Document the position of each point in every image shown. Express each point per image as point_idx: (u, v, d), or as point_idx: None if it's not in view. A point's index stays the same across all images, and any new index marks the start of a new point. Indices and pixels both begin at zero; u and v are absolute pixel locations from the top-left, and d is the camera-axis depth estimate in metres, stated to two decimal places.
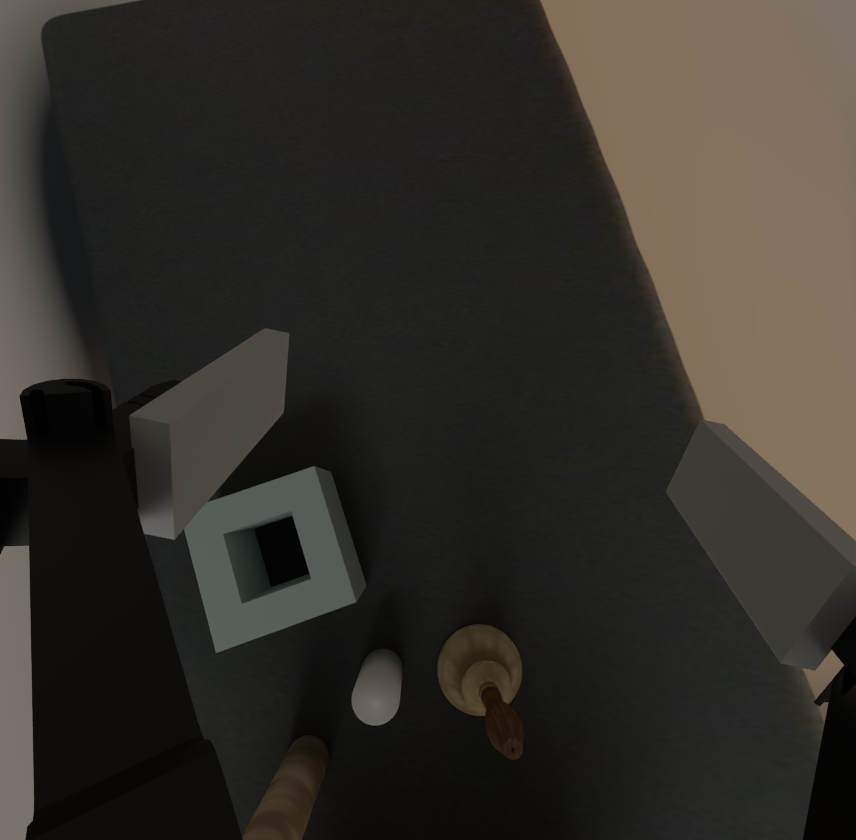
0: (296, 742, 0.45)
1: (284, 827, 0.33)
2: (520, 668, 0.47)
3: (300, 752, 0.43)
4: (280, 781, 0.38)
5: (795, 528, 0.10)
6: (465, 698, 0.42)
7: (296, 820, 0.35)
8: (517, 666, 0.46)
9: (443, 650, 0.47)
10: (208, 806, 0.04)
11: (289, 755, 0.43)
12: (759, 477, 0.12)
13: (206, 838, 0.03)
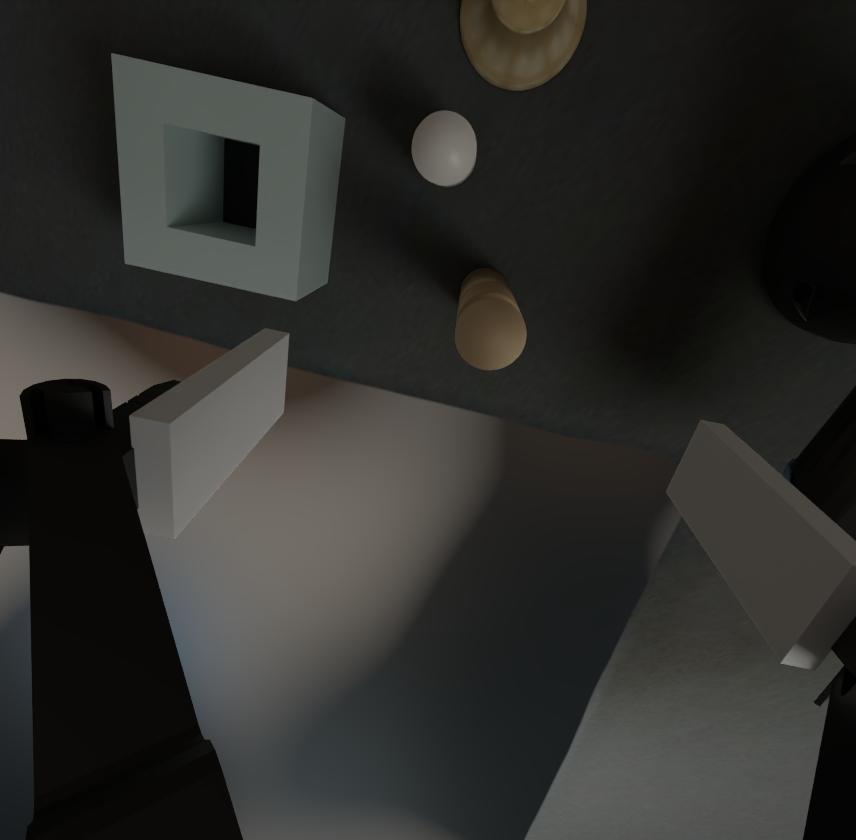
0: None
1: (477, 298, 0.28)
2: None
3: (463, 285, 0.37)
4: (459, 304, 0.33)
5: (795, 528, 0.10)
6: (521, 28, 0.28)
7: (488, 291, 0.29)
8: None
9: (470, 55, 0.33)
10: (210, 805, 0.04)
11: None
12: (759, 477, 0.12)
13: (207, 837, 0.03)
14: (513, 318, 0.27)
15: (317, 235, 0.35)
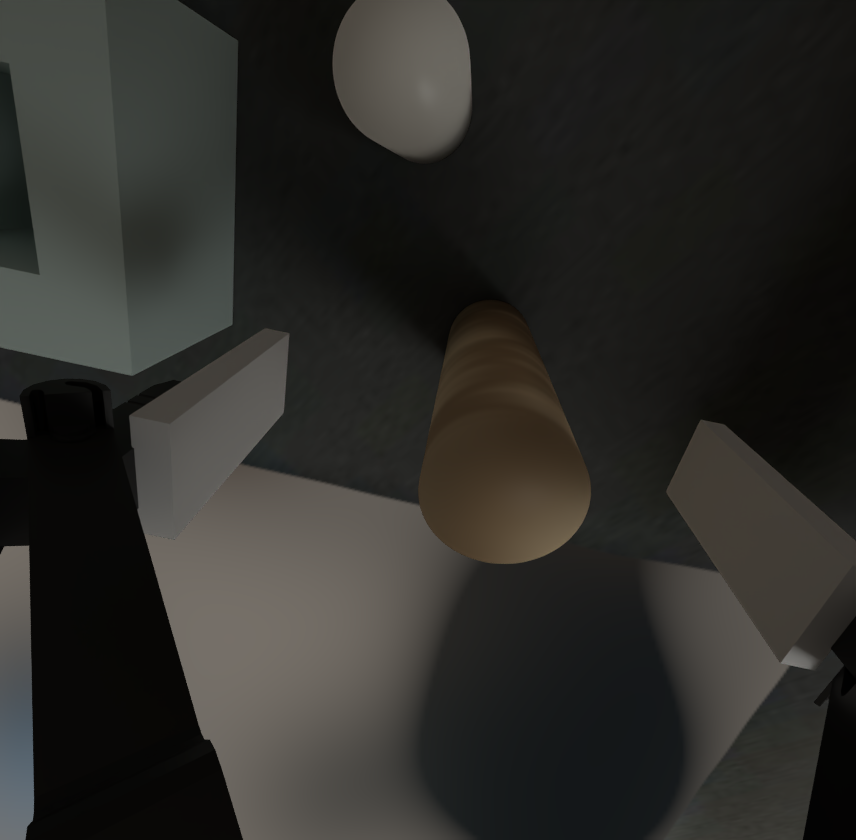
0: None
1: (471, 402, 0.12)
2: None
3: (452, 335, 0.21)
4: (439, 381, 0.17)
5: (795, 528, 0.10)
6: None
7: (496, 375, 0.13)
8: None
9: None
10: (208, 806, 0.04)
11: None
12: (759, 477, 0.12)
13: (207, 838, 0.03)
14: (560, 460, 0.11)
15: (184, 250, 0.19)
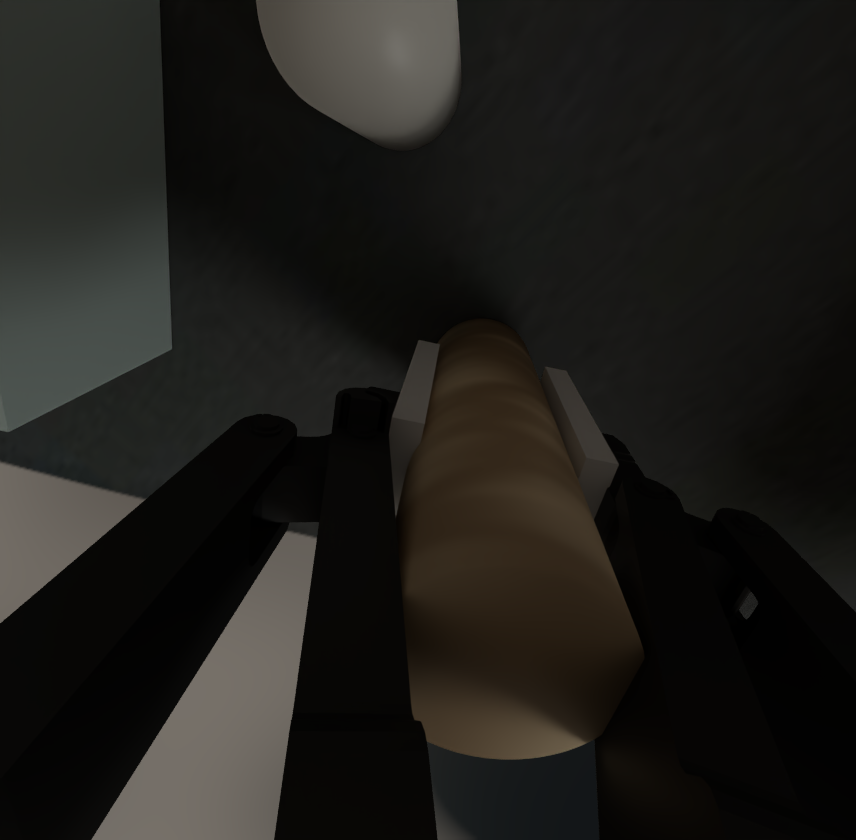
0: None
1: (451, 514, 0.07)
2: None
3: None
4: None
5: (569, 439, 0.12)
6: None
7: (489, 457, 0.09)
8: None
9: None
10: (413, 777, 0.04)
11: None
12: (561, 404, 0.14)
13: (408, 804, 0.04)
14: (597, 628, 0.07)
15: (88, 261, 0.15)
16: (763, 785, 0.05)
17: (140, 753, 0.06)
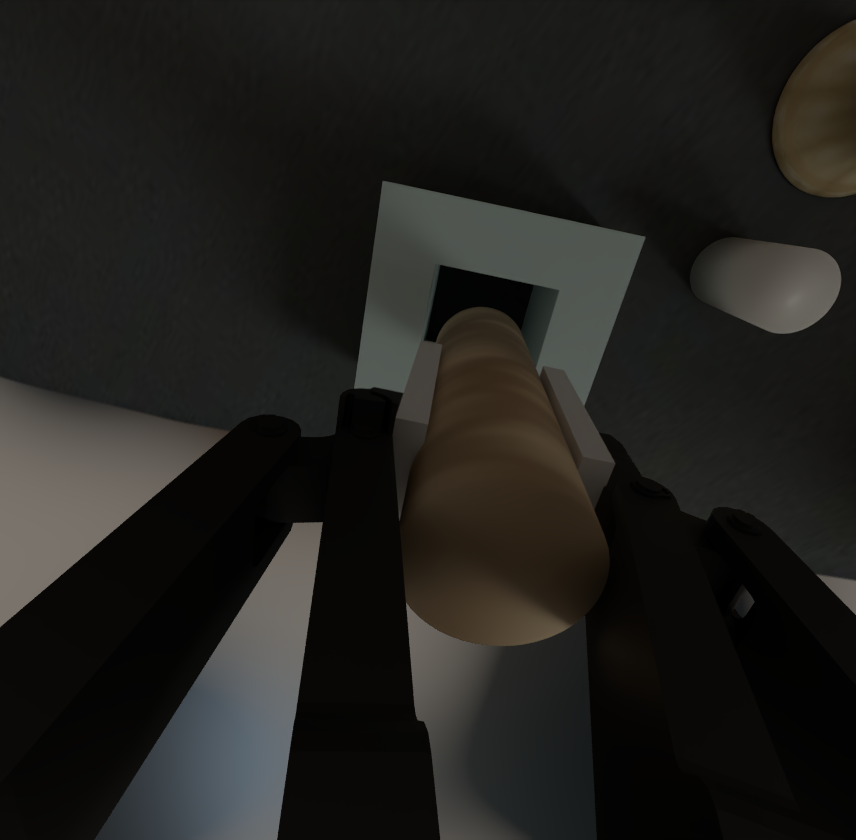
0: None
1: (460, 448, 0.09)
2: None
3: None
4: None
5: (566, 438, 0.12)
6: None
7: (490, 410, 0.11)
8: None
9: (783, 157, 0.26)
10: (417, 778, 0.04)
11: None
12: (558, 404, 0.14)
13: (411, 804, 0.04)
14: (572, 528, 0.09)
15: None
16: (762, 784, 0.05)
17: (144, 753, 0.06)
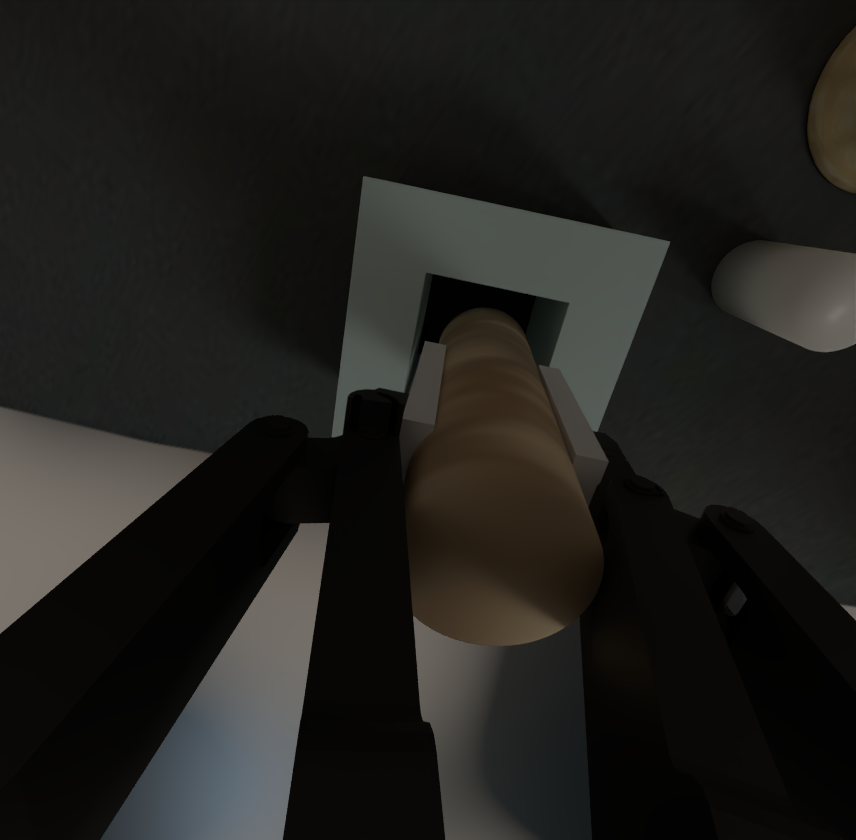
0: None
1: (456, 447, 0.09)
2: None
3: None
4: None
5: None
6: None
7: (487, 409, 0.11)
8: None
9: (819, 149, 0.23)
10: (421, 779, 0.04)
11: None
12: (553, 402, 0.14)
13: (416, 805, 0.04)
14: (566, 529, 0.09)
15: None
16: (755, 783, 0.05)
17: (150, 752, 0.06)
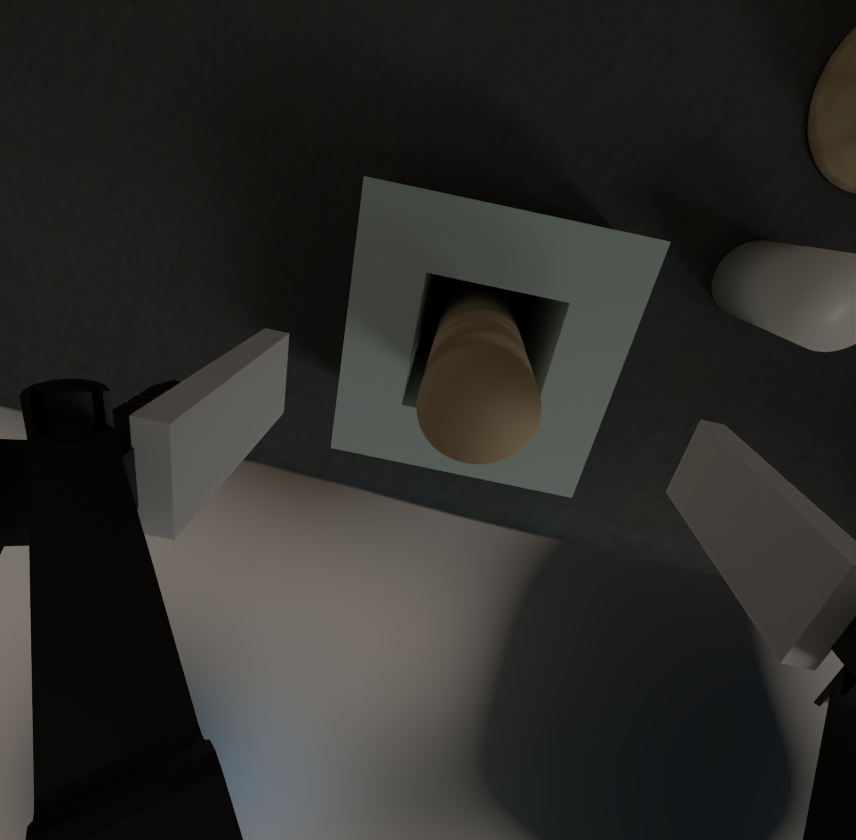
0: None
1: (456, 342, 0.16)
2: None
3: (445, 308, 0.25)
4: None
5: (795, 528, 0.10)
6: None
7: (476, 327, 0.17)
8: None
9: (820, 150, 0.23)
10: (208, 807, 0.04)
11: None
12: (759, 477, 0.12)
13: (206, 838, 0.03)
14: (519, 382, 0.15)
15: None
16: None
17: None
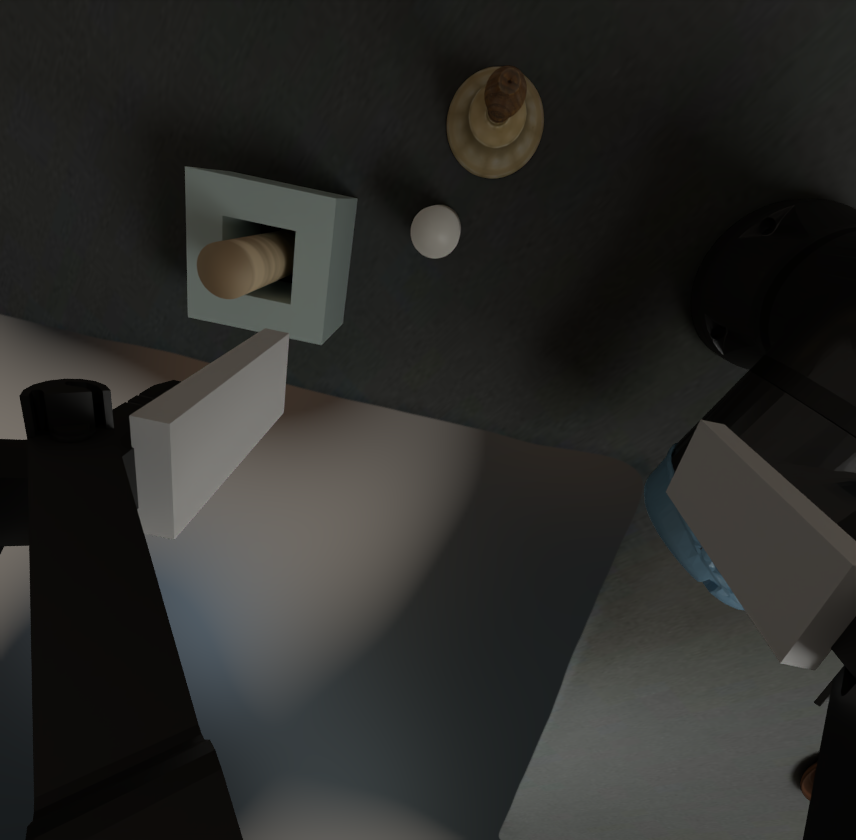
0: None
1: None
2: None
3: None
4: None
5: (795, 528, 0.10)
6: (492, 145, 0.38)
7: (235, 238, 0.37)
8: None
9: (455, 153, 0.42)
10: (208, 807, 0.04)
11: None
12: (759, 477, 0.12)
13: (206, 838, 0.03)
14: (238, 257, 0.34)
15: (336, 291, 0.44)
16: None
17: None
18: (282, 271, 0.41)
